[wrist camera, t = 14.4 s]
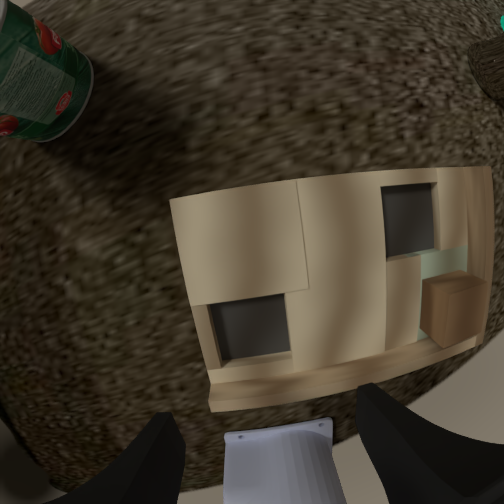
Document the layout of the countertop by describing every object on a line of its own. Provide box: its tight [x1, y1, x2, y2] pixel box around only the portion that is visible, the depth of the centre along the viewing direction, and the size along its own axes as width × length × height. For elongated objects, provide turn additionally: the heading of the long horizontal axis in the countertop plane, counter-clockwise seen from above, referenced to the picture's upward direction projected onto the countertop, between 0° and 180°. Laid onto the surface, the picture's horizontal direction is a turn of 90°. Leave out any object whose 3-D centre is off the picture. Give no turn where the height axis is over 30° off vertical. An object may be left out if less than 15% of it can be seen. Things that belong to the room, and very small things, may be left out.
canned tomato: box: [0, 0, 94, 142], centre depth 11 cm, size 8×8×11 cm
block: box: [419, 270, 488, 348], centre depth 17 cm, size 4×4×4 cm
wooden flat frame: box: [170, 166, 494, 412], centre depth 18 cm, size 22×14×3 cm, turn 99°
